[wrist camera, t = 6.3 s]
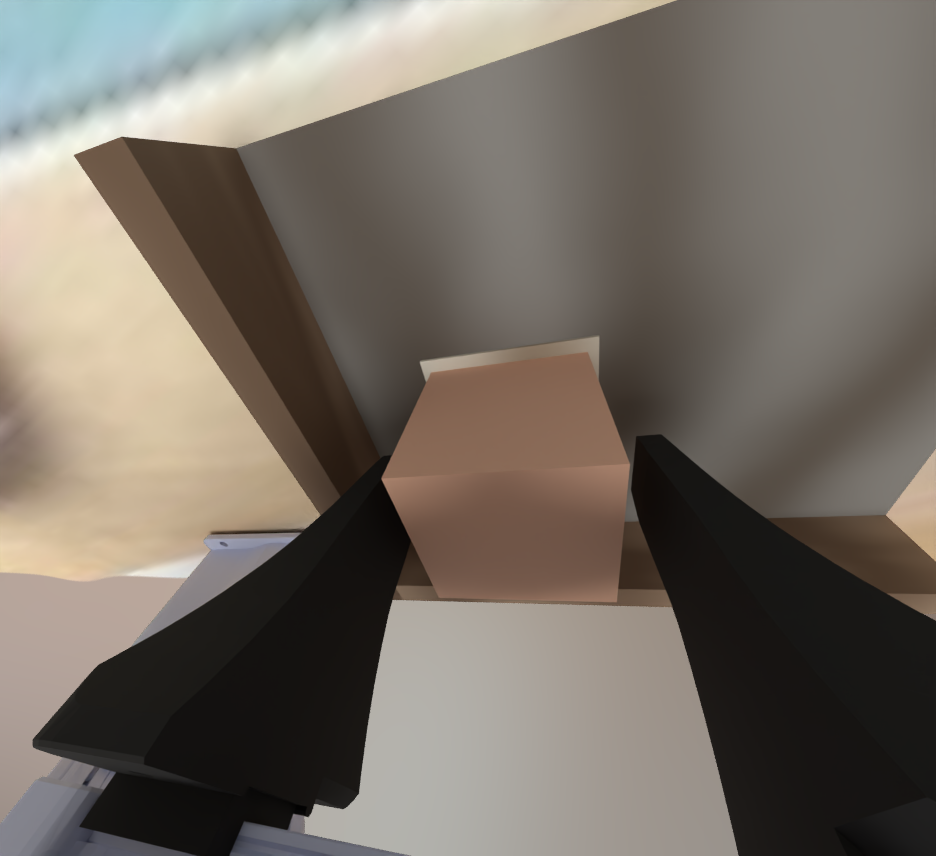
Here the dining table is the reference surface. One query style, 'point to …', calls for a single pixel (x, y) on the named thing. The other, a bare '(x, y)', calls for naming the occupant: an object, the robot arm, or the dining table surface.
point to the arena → (598, 260)
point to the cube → (514, 482)
